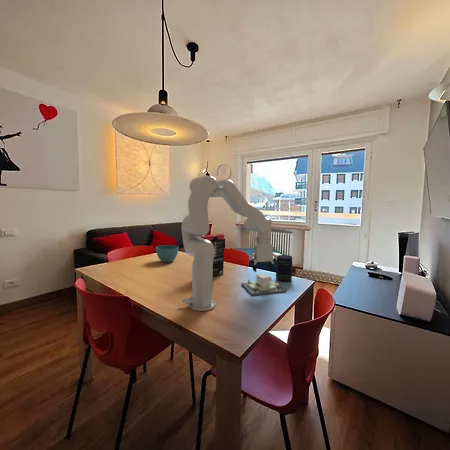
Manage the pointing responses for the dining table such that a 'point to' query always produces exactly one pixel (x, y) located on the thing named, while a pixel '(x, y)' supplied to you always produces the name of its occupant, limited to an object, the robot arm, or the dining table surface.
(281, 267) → the storage jar
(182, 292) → the dining table surface
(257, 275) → the board
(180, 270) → the dining table surface
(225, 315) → the dining table surface
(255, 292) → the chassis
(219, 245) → the graphics card box
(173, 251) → the teal bowl
